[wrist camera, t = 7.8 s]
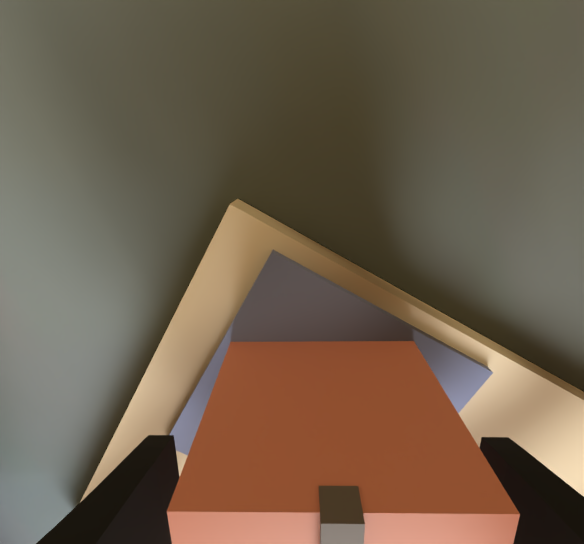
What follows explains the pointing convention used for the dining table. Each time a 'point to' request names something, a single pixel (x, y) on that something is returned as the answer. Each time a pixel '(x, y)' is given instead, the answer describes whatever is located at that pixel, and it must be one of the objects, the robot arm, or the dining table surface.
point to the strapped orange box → (335, 453)
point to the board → (334, 327)
